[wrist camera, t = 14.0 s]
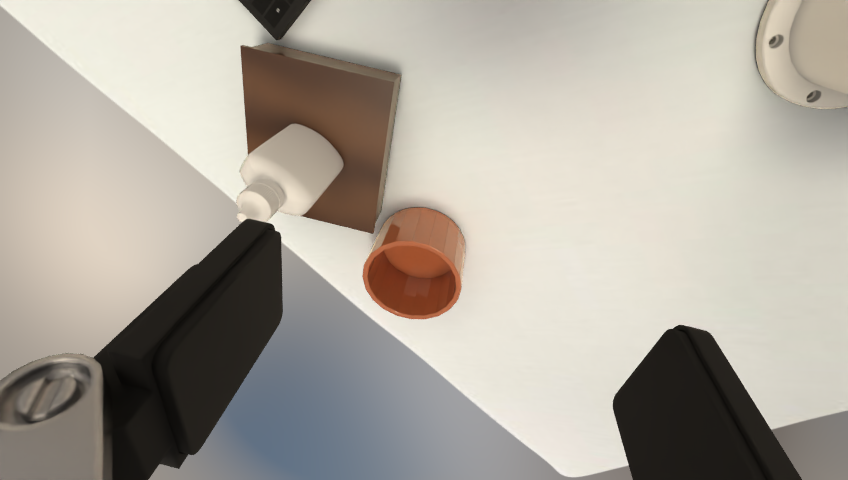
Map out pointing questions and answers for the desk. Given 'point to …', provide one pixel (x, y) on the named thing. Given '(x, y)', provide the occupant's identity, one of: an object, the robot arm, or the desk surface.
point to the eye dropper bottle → (287, 174)
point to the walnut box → (326, 121)
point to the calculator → (276, 14)
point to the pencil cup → (416, 264)
